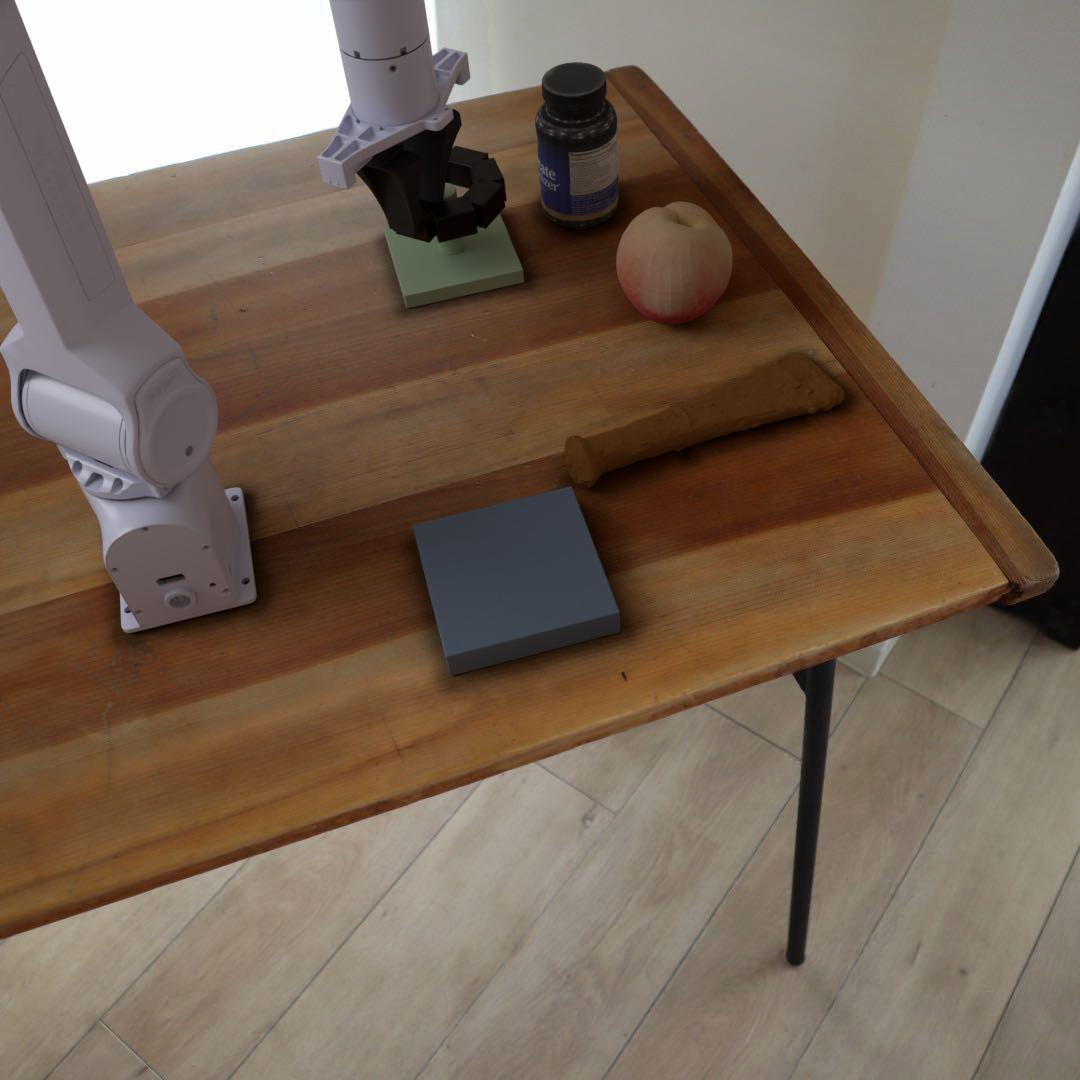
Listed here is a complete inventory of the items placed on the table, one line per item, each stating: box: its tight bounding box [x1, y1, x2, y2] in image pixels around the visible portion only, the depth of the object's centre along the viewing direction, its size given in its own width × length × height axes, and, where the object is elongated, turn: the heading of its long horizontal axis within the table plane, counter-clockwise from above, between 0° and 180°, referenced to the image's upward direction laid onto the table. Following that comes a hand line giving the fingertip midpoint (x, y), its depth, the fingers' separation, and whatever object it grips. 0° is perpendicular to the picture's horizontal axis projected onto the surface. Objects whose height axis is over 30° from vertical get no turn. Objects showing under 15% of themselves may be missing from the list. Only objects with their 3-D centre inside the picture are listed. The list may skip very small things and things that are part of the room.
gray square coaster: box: [412, 485, 621, 677], centre depth 69 cm, size 10×10×2 cm
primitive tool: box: [563, 352, 845, 489], centre depth 75 cm, size 19×6×4 cm, turn 119°
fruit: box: [615, 200, 734, 326], centre depth 82 cm, size 8×8×8 cm
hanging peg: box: [383, 183, 525, 309], centre depth 88 cm, size 9×9×6 cm
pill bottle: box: [534, 61, 620, 229], centre depth 89 cm, size 6×6×11 cm
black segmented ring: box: [384, 145, 508, 243], centre depth 86 cm, size 9×9×2 cm
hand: (417, 220), depth 84 cm, fingers closed on black segmented ring, 2 cm apart
